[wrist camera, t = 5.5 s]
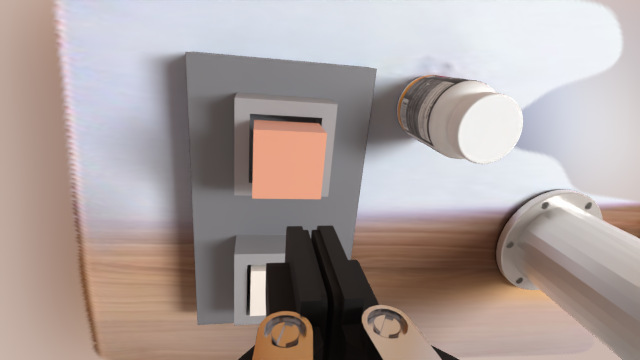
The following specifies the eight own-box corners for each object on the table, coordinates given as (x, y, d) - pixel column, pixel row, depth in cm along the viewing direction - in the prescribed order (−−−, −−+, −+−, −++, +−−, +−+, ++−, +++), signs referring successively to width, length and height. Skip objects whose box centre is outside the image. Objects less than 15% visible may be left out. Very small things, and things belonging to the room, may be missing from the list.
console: (365, 67, 29) (390, 71, 24) (336, 297, 37) (350, 340, 32) (193, 51, 27) (175, 52, 21) (202, 302, 35) (192, 350, 29)
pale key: (301, 249, 31) (306, 269, 28) (298, 290, 32) (302, 313, 29) (251, 250, 30) (250, 271, 27) (250, 292, 31) (249, 316, 28)
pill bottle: (464, 96, 32) (548, 114, 23) (427, 148, 33) (493, 185, 24) (419, 61, 30) (490, 66, 21) (381, 117, 31) (433, 146, 22)
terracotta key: (318, 123, 24) (327, 133, 21) (313, 182, 25) (320, 199, 22) (254, 119, 23) (253, 129, 20) (252, 181, 24) (252, 198, 22)
